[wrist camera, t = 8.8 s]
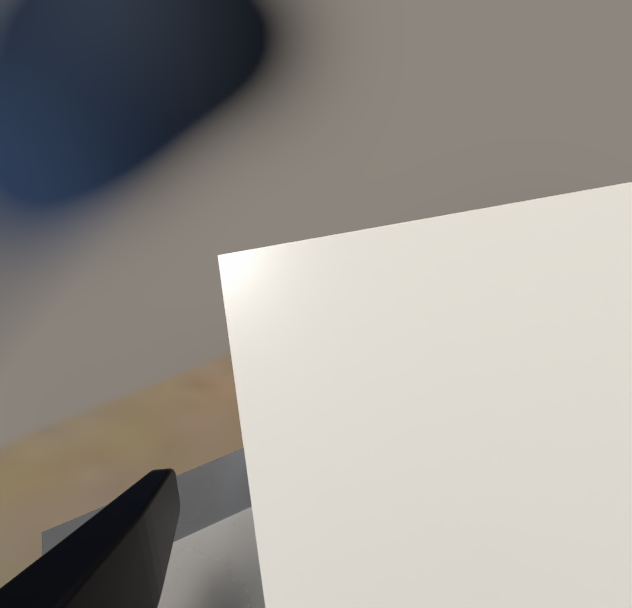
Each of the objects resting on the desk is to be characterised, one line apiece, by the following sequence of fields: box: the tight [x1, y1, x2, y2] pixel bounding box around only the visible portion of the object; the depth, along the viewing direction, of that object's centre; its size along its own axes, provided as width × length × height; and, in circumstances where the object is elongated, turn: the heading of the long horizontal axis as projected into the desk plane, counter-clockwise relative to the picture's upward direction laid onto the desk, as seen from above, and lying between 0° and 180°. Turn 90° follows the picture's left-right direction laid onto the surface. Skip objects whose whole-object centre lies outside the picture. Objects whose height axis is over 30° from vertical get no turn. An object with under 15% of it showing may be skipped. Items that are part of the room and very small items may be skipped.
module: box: [218, 182, 632, 608], centre depth 8 cm, size 5×5×13 cm
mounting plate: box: [42, 448, 265, 608], centre depth 14 cm, size 8×22×3 cm, turn 113°
